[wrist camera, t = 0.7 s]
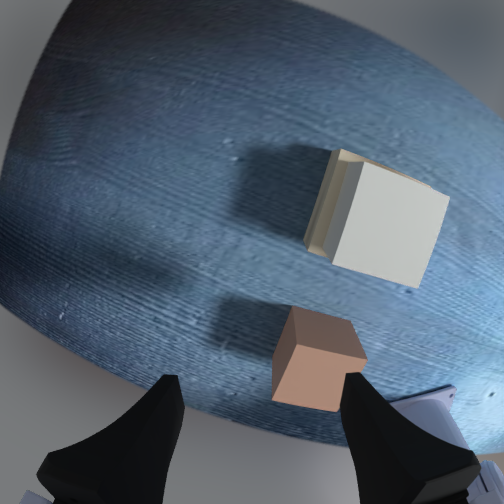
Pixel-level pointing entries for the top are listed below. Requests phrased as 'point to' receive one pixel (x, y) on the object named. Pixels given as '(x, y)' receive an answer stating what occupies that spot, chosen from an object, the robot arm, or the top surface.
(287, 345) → the terracotta block
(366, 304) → the top surface
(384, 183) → the tower top slab
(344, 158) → the tower base slab
